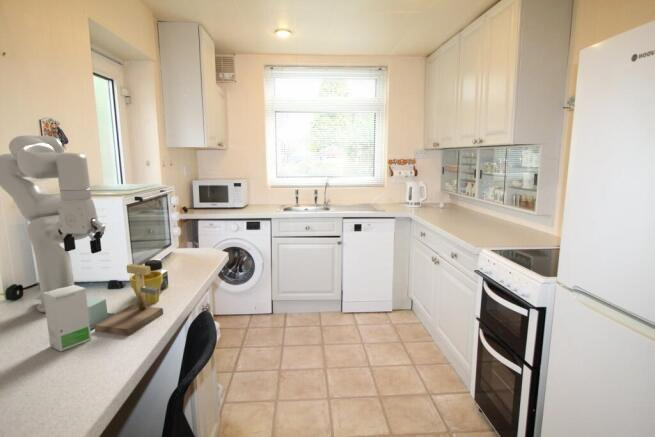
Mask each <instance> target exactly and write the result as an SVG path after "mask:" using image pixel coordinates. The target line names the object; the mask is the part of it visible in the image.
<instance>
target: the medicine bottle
mask: <svg viewBox="0 0 655 437" xmlns="http://www.w3.org/2000/svg"><path fill="white" fill-rule="evenodd" d="M144 266H150V271H159V272H161V273H162V276H163V283H162V284H161V288H160V294H161V293H163V292H164V291H165V290H166V289H167V288H169V286H170V285H169V276H168V270H167V269H163V261H162V259H159V258H154V259H148V260H146V261H144Z"/></svg>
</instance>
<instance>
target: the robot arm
mask: <svg viewBox="0 0 655 437" xmlns="http://www.w3.org/2000/svg"><path fill="white" fill-rule="evenodd" d="M8 149H9V152H10V153H4V154H3V153H2V154H0V188H1V189H2V190H4V192H6V193H7V194H8V195H9V196H10V198H12V200H13V202H14V204H15V205H16V207H17V209H18V210H19V211H20V213H21V215H22V216H23V218H24V219H25V220H26V221H27V222H29V223H28V224H27V228H26V229H27V235H28V237H29V239H30V243H31V245H32V249H33V252H34V257H35V263H36V270H37V276H38V282H39V288H40V292H39V295H36V296H35V299H36V300H40V303H39V304H38V305H37V311H38V312H40V313H44V314H46V310H45V303H44V296H43V293H44V292H48V291H52V290H56V289H59V288H64V287H69V286H73V285H75V280H74V272H73V267H72V259H71V255H70V253H69V252H70V251H71V252H72V251H74V250H76V241H77V240H82V239H85V238H87V237H89V238H90V240H89V246H90V253H91V254H94V255H95V254H98V253H99V252H102V242H101V239H103V235H104V234H105V231H106V230H105V229H106V225H105V224H104V223H102V222H100V221H99V220H98V215H97V214H98V213H97V210H96V206H95V203H94V201H93V199H92V191H91V183H90V176H89V175H90V174H89V168H88V166H89V165H88V160H87V159H88V158H87V157H86V155H85V154H83V153H75V152H64V146H63V143H62V142H61V141H60V140H59V139H58V138H56V137H55V136H51V135H17V136H15V137H13V138H12V139H11V140H10V142H9V144H8ZM27 178H32V179H37V180H42V179H43V180H44V179H58V180H57V181H58V187H59V193H44V192H43V191H42V189H41V188H40V186H39V185H37V184H36V183H34V182H33V181H32V180H29V179H27ZM61 244H63V246H64V247H62V246H61Z"/></svg>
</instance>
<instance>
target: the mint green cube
mask: <svg viewBox="0 0 655 437" xmlns="http://www.w3.org/2000/svg"><path fill="white" fill-rule="evenodd" d="M87 307H88V315H89V323H90V325H94V324H96V323H98V322H99V321H101V320H103V319H105V318H107V317H108V313H109V312H108V307H107V299H106V298H105V299H104V298H96V297H89V298H87Z"/></svg>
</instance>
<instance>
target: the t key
mask: <svg viewBox="0 0 655 437" xmlns="http://www.w3.org/2000/svg"><path fill="white" fill-rule="evenodd" d="M126 273H127V274H133V275H134V274H135V281H136V290H137V297H136V299H138V300H137V306H138V309H139V310H143V309H146V308H147V307H148V306H147V305H146V296H145V293H149V294H158V293H159V288H154V287H148V286H144V277H143V275H145V276H146V275H148V274H151V271H150V266H145V265H143V264H134V263H130V264H127V265H126Z"/></svg>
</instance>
